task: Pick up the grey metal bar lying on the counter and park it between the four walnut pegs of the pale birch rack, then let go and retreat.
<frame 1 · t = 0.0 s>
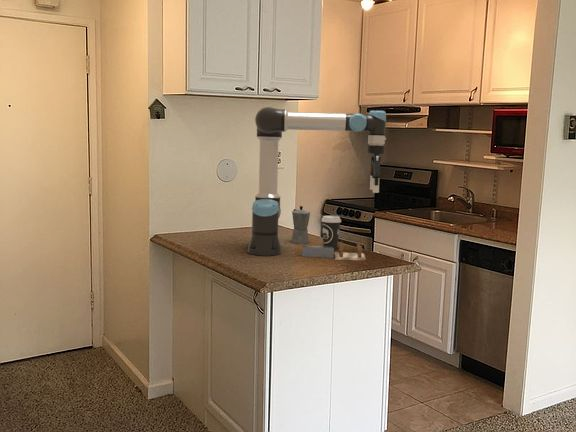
hand: (374, 191, 286), 28 cm above the counter, fingers open, 13 cm apart
coffeepot: (299, 242, 308), on the counter
grey metal bar: (315, 256, 274), on the counter
rack: (349, 257, 273), on the counter
coffee cup: (330, 248, 294), on the counter
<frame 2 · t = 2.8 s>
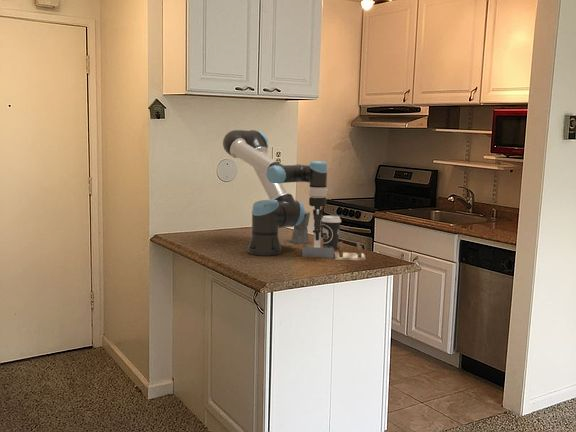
hand: (316, 244, 273), 5 cm above the counter, fingers open, 13 cm apart
nothing on the counter moved.
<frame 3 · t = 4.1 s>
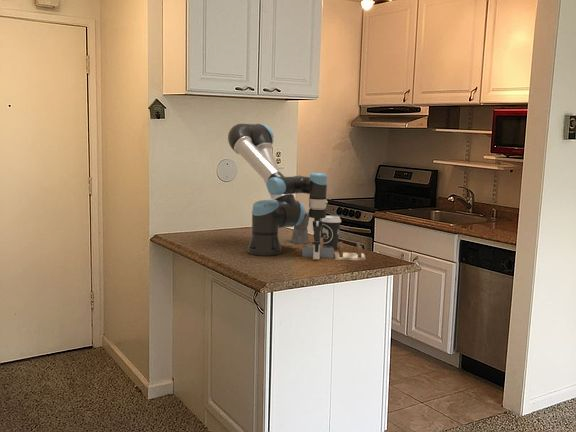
hand: (316, 256, 274), 0 cm above the counter, fingers open, 13 cm apart
nothing on the counter moved.
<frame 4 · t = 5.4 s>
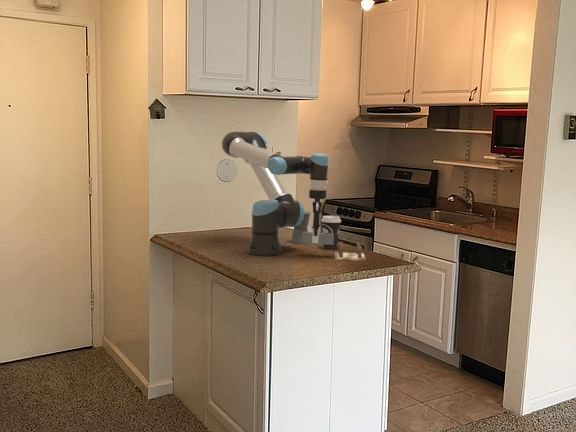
hand: (315, 241, 274), 6 cm above the counter, fingers closed on grey metal bar, 4 cm apart
grey metal bar: (315, 243, 274), point 6 cm above the counter, touching gripper
everything else where it was.
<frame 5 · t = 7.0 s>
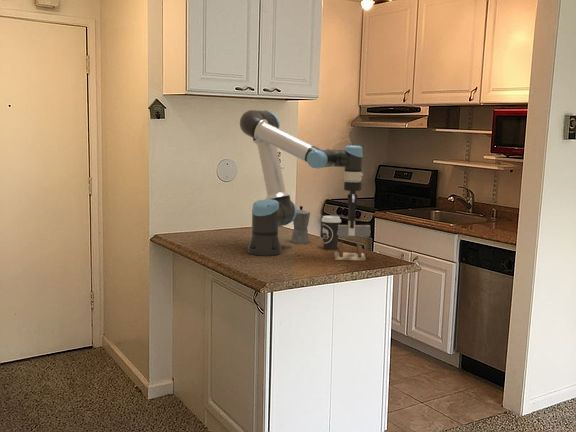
hand: (351, 234, 272), 10 cm above the counter, fingers closed on grey metal bar, 4 cm apart
grey metal bar: (351, 235, 272), point 10 cm above the counter, touching gripper
everything else where it was.
when the fingers open (3 cm above the counter, at t = 8.9 s): grey metal bar drops 1 cm, resting on rack.
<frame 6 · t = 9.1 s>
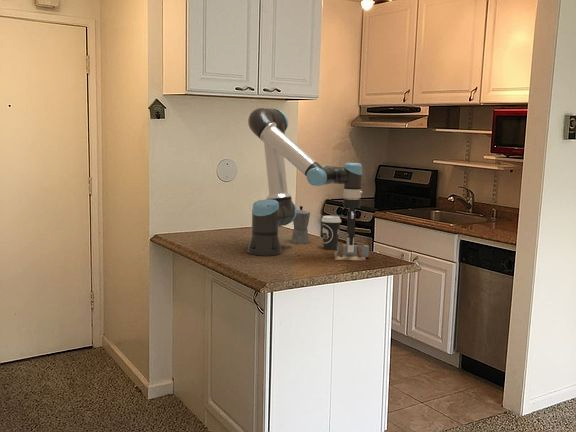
hand: (349, 250, 273), 3 cm above the counter, fingers open, 7 cm apart
grey metal bar: (350, 255, 273), point 1 cm above the counter, touching rack
everything else where it was.
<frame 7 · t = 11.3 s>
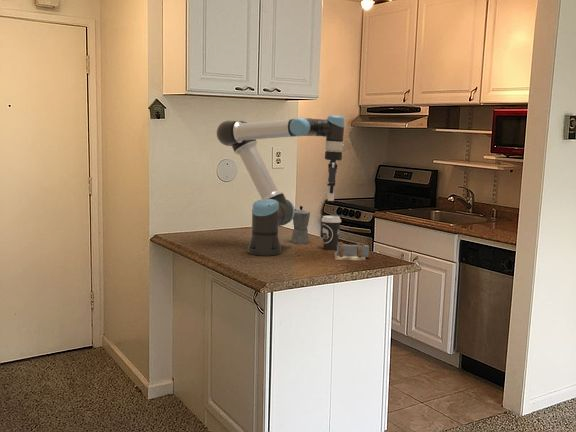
hand: (330, 198, 276), 25 cm above the counter, fingers open, 13 cm apart
nothing on the counter moved.
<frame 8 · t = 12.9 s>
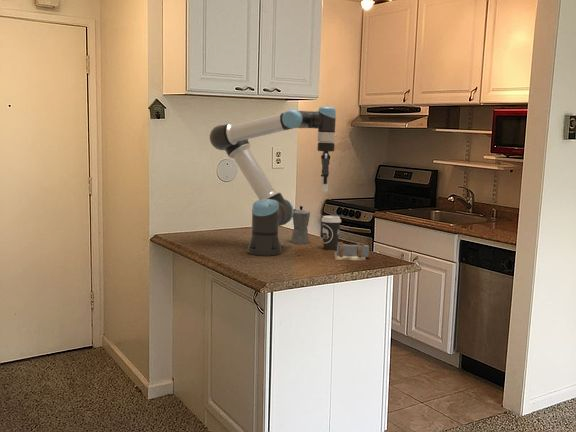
hand: (324, 190, 278), 29 cm above the counter, fingers open, 13 cm apart
nothing on the counter moved.
at the end: grey metal bar 0.2 cm off-centre on the rack, point 1.0 cm above the rack's base; grey metal bar tilted 0°; the gripper is holding nothing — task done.
